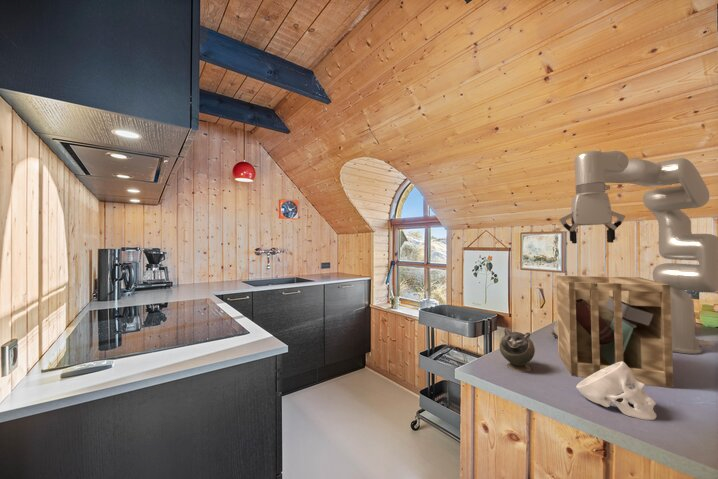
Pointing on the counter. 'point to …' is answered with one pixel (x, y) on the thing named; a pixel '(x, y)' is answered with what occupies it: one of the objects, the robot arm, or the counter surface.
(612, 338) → the can
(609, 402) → the skull bowl
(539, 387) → the counter surface
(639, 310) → the green chalkboard
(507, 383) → the counter surface
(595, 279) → the zigzag grain wooden box
